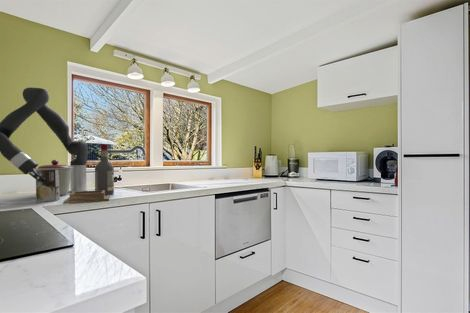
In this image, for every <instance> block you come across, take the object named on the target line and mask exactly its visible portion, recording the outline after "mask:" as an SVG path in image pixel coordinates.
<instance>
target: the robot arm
mask: <svg viewBox="0 0 470 313" xmlns="http://www.w3.org/2000/svg"><path fill="white" fill-rule="evenodd" d="M22 97H23V98H22V99H23V100H24V101H25V102H26V103H25V104H23V105H21V106H20V107H18V108H16V109H14V110H13V111H11V112H10V113H9V114H7V115H6V116H5V117H4V118H3V119H2V120H1V121H0V154H1V156H3V158H5V159H6V160H7V161H8V162H10V163H11V164H12V165H13V166H14V167H15V168H17V170H19V171H20V172H22V173H23V174H24V175H28V174H29V175H30V176H31V177H32V178H33V179H34V180H35V181H36V180H37V181H38V182H41V183H43V184H44V185H46V186H47V187H49V186H50V185H51V183H50V182H49V181H47V180H46V179H45V178H44V177H43V175H42V174H41V173H40V175H39V173H38V172H37V171H36V170H38V169H37V168H38V167H39V163H38V162H37V161H35V160H34V159H33V158H32V157H30V156H29V155H28V154H27V153H25V152H23V151H22V150H21V149H20V148H19V147H18V146H16V145H15V144H14V143H13V142H12V141H11V140H10V138H11V136H12V135H13V134H14V133H15V131H17V130H18V128H20V126H21V125H22V124H23V123H24V122H25V121H26V120H27V119H28V118H29V117H31V116H32V115H33V114H35V113H37V114H38V116H39V117H40V118H41V119H42V120H43V121H44V122H45V123H46V125H47V126H48V127H49V129H50V130H51V131H52V132H53V133H54V134H55V135H56V137H57V138H58V140H59V141H60V142H61V143H62V145H63V147H64V148H65V150H66V151H67V152H68V154H70V155H72V156H76V157H75V158H74V159H72V160H70V162H69V163H70V164H69V166H71V167H73V168H72V169H71V177H70V185H69V191H70V193H72V192H77V191H87V162H88V154H89V152H88V151H89V150H88V148H89V147H88V144H87V142H86V141H83V140H77V141H76V140H73V138H72V137H71V135H70V134H69V133H70V126H69V124H68V122H67V121H66V120H65V119H64V118H63V116H62V115H61V114H60V113H58V112H57V111H55V110H54V109H52V108H51V107H50V106H48V102H49V100H50V93H49V91H48V90H46V89H44V88H40V87H26V88H24V89H23V90H22ZM39 170H40V169H39ZM38 176H39V177H38ZM37 177H38V178H37Z"/></svg>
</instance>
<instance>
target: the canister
mask: <svg viewBox="0 0 470 313" xmlns="http://www.w3.org/2000/svg"><path fill="white" fill-rule="evenodd" d="M36 168H37V169H38V170H39V169H40V170H59V192H60V197H61V196H65V195H67V194H68V193H69V191H70V177H71V169H72V168H73V167H71V166H70V164H68V165H67V164H59V160H57V159H53V160H51V164H43V165H40V166H39V165H38V166H37V167H36Z"/></svg>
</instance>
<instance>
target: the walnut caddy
mask: <svg viewBox="0 0 470 313" xmlns="http://www.w3.org/2000/svg"><path fill="white" fill-rule="evenodd" d="M68 196H69V197H67V198H66V199H65V200H63V204H74V203H75V204H77V203H92V202H95V203H96V202H108V201H110V197H111V195H105V190H99V191H95V190H86V191H77V192H70V193H69V195H68Z"/></svg>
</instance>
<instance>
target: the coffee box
mask: <svg viewBox="0 0 470 313" xmlns="http://www.w3.org/2000/svg"><path fill="white" fill-rule="evenodd" d="M36 171H37V172H38V173H39V175H40V173H41V174H42V175H43V177H44V178H45V179H46V180H47V181H49V182H50V183H51V185H50V186H49V187H47V186H46V185H44V184H43V183H41V182H38V181H37V180H36V179H35V196H36V197H35V201H36V202H37V203H38V202H39V203H40V202H41V203H42V202H57V201H59V200H60V199H61V198H60V197H61V196H60V192H59V170H36ZM38 177H39V176H38ZM38 177H37V178H38Z"/></svg>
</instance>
